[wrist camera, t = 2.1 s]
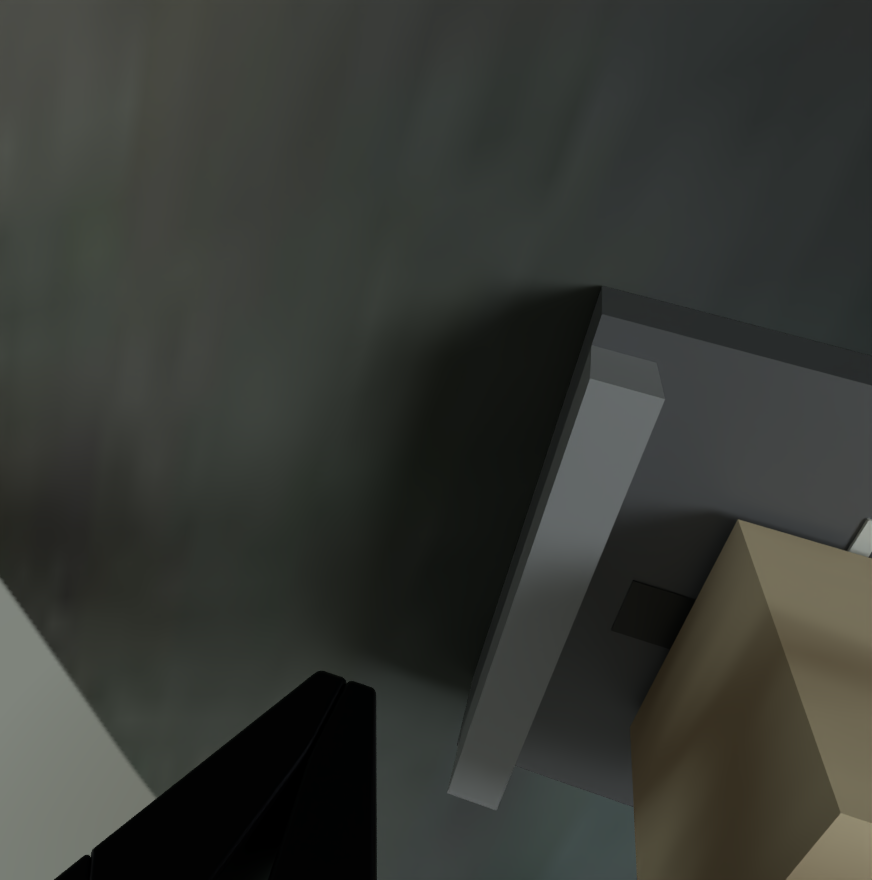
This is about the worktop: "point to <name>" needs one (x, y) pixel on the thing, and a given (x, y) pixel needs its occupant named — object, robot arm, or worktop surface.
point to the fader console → (653, 525)
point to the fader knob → (762, 721)
